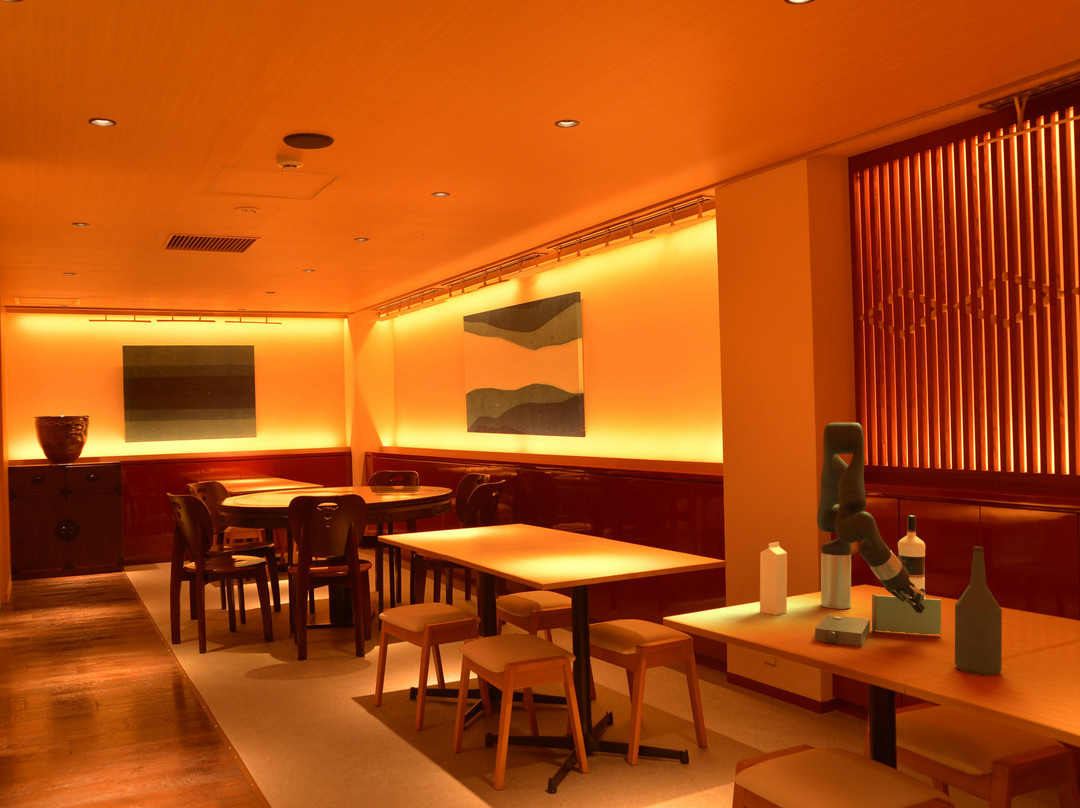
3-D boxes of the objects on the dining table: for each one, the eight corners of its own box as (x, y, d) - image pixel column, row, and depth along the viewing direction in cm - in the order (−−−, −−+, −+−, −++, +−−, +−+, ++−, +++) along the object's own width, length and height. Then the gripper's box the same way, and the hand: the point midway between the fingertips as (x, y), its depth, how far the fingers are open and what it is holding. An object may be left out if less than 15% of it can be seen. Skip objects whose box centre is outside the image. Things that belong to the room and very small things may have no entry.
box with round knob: (826, 626, 262) (826, 613, 262) (870, 631, 257) (870, 617, 257) (814, 642, 243) (814, 628, 243) (860, 648, 238) (860, 633, 238)
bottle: (1004, 669, 219) (1004, 546, 219) (998, 678, 211) (999, 550, 211) (958, 662, 225) (959, 542, 225) (951, 671, 216) (951, 546, 217)
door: (871, 631, 257) (872, 594, 257) (871, 630, 258) (871, 594, 258) (940, 636, 251) (941, 599, 252) (940, 635, 253) (940, 598, 253)
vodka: (923, 611, 285) (923, 517, 286) (892, 607, 291) (893, 515, 291) (929, 607, 293) (929, 515, 294) (899, 603, 298) (900, 513, 299)
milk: (786, 613, 281) (788, 542, 281) (776, 615, 277) (777, 544, 277) (769, 609, 285) (771, 540, 286) (759, 612, 281) (760, 542, 282)
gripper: (914, 562, 240) (947, 604, 245) (877, 555, 252) (909, 596, 257) (899, 583, 238) (933, 625, 242) (863, 575, 250) (895, 616, 255)
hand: (921, 610), depth 250 cm, fingers closed
